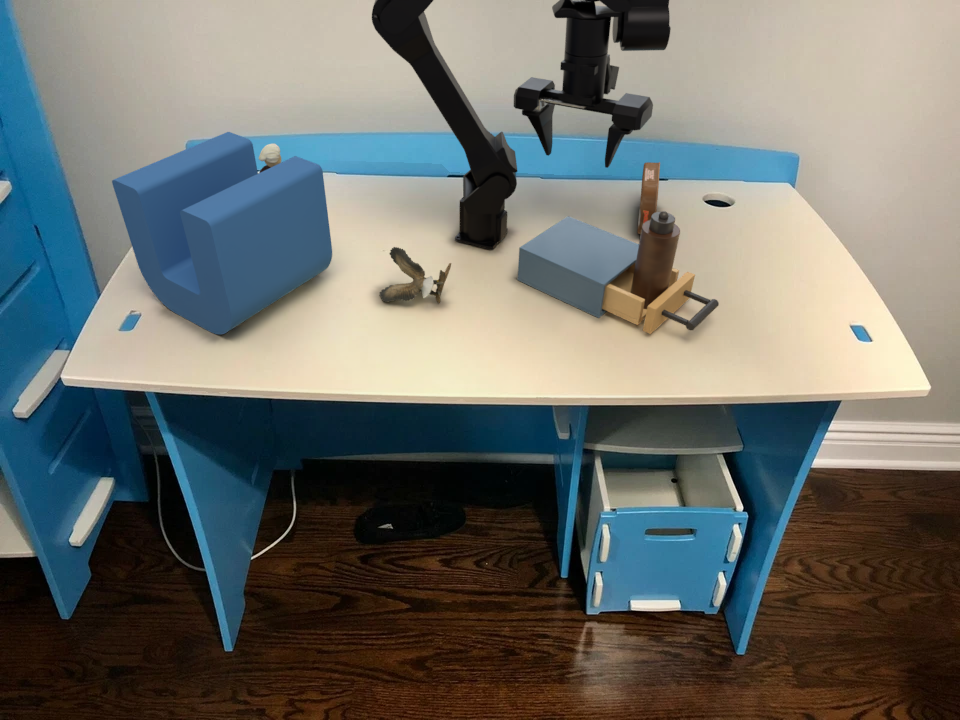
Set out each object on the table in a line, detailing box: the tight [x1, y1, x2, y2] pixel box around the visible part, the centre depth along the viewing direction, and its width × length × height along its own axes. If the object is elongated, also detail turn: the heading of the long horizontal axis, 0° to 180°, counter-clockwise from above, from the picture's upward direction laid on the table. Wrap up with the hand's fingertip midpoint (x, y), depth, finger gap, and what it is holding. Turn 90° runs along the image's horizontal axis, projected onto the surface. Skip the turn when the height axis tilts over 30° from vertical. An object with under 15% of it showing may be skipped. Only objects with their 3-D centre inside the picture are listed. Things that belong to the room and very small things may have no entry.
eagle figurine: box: [379, 246, 452, 304], centre depth 104 cm, size 8×7×9 cm
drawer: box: [602, 263, 719, 335], centre depth 103 cm, size 18×11×4 cm, turn 50°
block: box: [111, 131, 333, 335], centre depth 100 cm, size 18×18×18 cm
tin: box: [636, 161, 661, 235], centre depth 121 cm, size 15×3×8 cm, turn 168°
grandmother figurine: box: [258, 143, 282, 173], centre depth 118 cm, size 8×4×13 cm, turn 58°
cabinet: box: [517, 215, 639, 319], centre depth 108 cm, size 14×12×6 cm
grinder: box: [630, 210, 681, 309], centre depth 99 cm, size 5×5×13 cm
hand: (577, 160), depth 111 cm, fingers open, 9 cm apart
